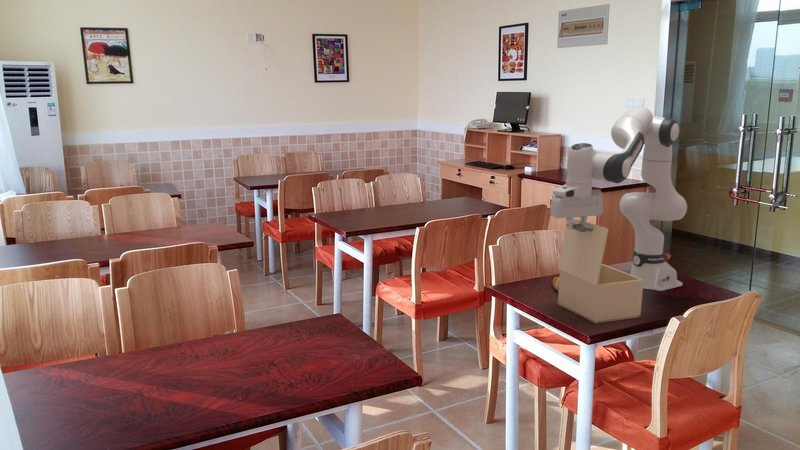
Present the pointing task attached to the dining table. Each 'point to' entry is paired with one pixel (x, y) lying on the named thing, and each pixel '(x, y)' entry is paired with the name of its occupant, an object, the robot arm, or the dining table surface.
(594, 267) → the flap
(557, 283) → the croissant
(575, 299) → the carton
